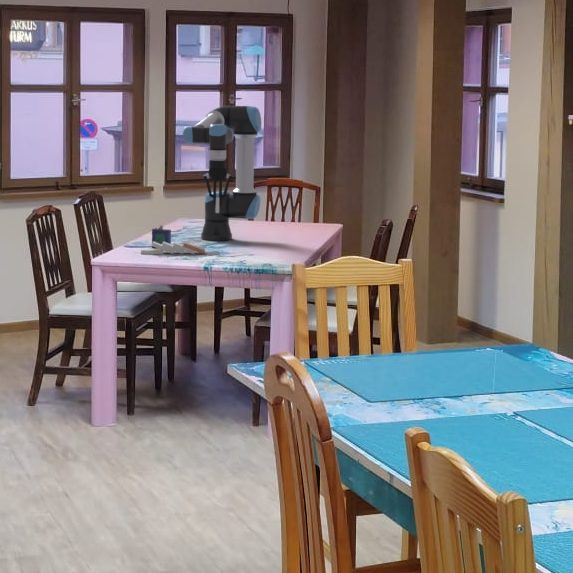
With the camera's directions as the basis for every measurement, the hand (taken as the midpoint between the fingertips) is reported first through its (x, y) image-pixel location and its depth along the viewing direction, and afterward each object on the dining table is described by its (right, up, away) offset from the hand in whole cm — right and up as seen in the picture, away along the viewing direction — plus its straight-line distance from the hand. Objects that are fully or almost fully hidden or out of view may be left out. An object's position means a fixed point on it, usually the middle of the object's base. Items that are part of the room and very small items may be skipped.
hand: (217, 212), depth 530 cm
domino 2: (-20, -17, +1) cm, 26 cm away
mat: (-14, -19, +1) cm, 23 cm away
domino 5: (-6, -17, +2) cm, 19 cm away
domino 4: (-10, -18, +2) cm, 20 cm away
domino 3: (-15, -17, +1) cm, 23 cm away
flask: (-27, -16, +17) cm, 35 cm away
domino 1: (-24, -17, 0) cm, 30 cm away
